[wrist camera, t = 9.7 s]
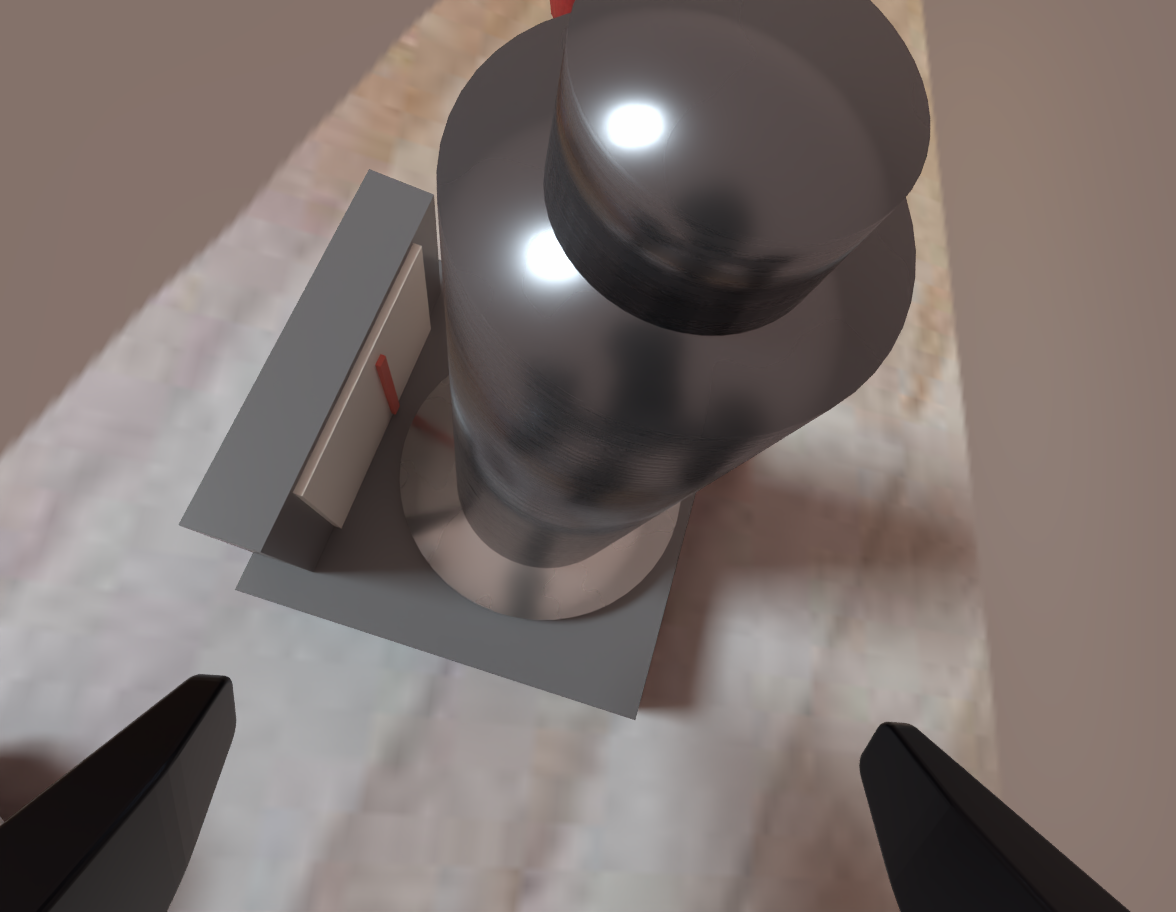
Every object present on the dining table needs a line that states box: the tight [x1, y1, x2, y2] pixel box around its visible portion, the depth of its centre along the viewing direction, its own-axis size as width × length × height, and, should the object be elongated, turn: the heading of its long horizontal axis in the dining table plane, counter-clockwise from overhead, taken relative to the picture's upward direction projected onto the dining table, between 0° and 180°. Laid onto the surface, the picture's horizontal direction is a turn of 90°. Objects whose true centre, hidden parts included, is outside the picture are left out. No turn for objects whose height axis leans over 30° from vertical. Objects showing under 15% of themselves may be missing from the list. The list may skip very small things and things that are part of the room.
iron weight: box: [437, 0, 930, 568], centre depth 11 cm, size 5×5×14 cm
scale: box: [179, 169, 696, 720], centre depth 17 cm, size 11×11×7 cm
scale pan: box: [400, 376, 681, 620], centre depth 18 cm, size 8×8×1 cm
